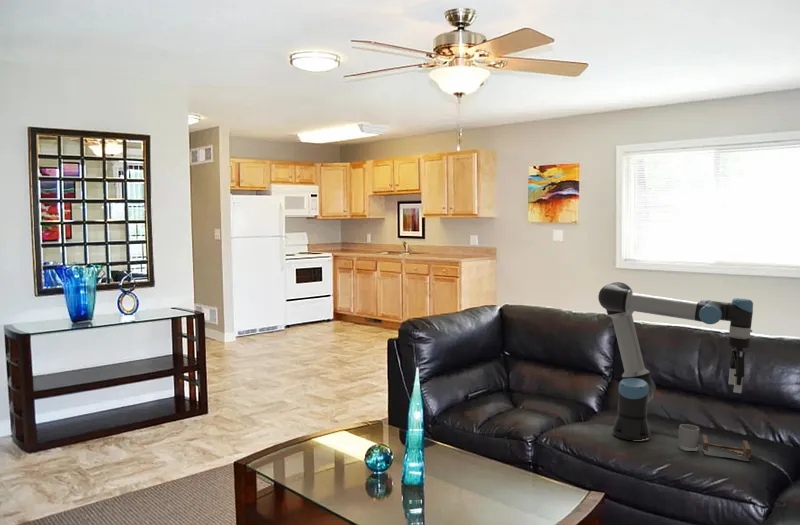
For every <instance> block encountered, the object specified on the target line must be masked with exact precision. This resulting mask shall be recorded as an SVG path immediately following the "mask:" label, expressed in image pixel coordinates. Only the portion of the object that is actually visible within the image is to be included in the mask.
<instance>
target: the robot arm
mask: <svg viewBox="0 0 800 525" xmlns="http://www.w3.org/2000/svg"><path fill="white" fill-rule="evenodd" d="M597 298H598V303H599V305H601V307H602V308H604V309H605V311H606V313H607V314H606V315H607V316H608V317H609V318H611V320H612V324H613V328H614V333H615V336H616V339H617V344H618V349H619V352H620V357H621V361H622V367H623V370H624V371H623V373H622V374H621V378H622V379H621V380H620V381H619V383H618V384H619V385H618V388H617V389H618V395H617V396H618V397H617V398H618V399H617V416H616V417H615V421H614V423H613V426H612V430H611V434H612V435H613V436H614V435H615V436H616V437H615V436H614V437H615V438H617V437H619V438H618V439H620V438H622V439H621V440H623V439H627V440H642V439H646V438H649V437H650V438H651V430H650V426H649V424H648V404H649V403H650V402H651V401H652V400H653V399H654V397H655V395H656V390H657V389H656V384H655V382H654V380H653V379H652V377H651V373H650V370H648V369H647V368H646V366H645V363H644V359H643V354H642V350H641V346H640V343H639V338H638V334H637V331H636V330H637V329H636V326H635V320H634V317H633V313H634V312H636V313H637V312H638V313H642V314H643V313H644V314H649V315H650V314H651V315H656V316H664V317H669V318H677V319H681V320H682V319H683V320H688V321H689V320H690V321H695V322H698V323H699V322H701V323H704V324H706V325H715V324H717V323H719V322H720V321H724V322H725V321H726V322H730V324H729V331H728V334H729V337H728V346H730V347H732V348H731V353H730V360H729V364H728V365H729V371H728V372H729V375H728V385H733V393H735V394H736V393H738V394H742V390H743V380H744V378H745V351H744V349H748V348H750V344H751V339H750V337H751V333H753V330H752V323H753V322H752V321H753V313H754V310H753V309H754V302H753V300H751V299H747V298H738V297H737V298H733V299H732V300H731V302H724V301H717V300H709V299H708V300H707V299H706V300H704V299H702V300H700V301H699V302H698V301H691V300H685V299H678V298H671V297H666V296H665V297H664V296H657V295H650V294H643V293H636V292H634V291H633V289H632V288H631V286H629V285H628V284H626V283H624V282H620V281H619V282H618V281H617V282H612V283H609V284H606V285H604V286H603V287H602V288H600V290H599V292H598V295H597ZM627 440H626V441H627Z"/></svg>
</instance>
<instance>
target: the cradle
mask: <svg viewBox="0 0 800 525" xmlns="http://www.w3.org/2000/svg"><path fill="white" fill-rule="evenodd" d="M702 445H703V449H704V450H706V451H708V445H709V446H714V447H719V448H722V449H726V450H729V451H734V452H737V453H741V454H744V455H745V456H742V455H737V456H742V457H746V458H750V459H751V455H752V454H751V451H752V448H751V447H750V446H751V445H750V444H749V442H748V440H744V439H743V440H742V447H737V446H730V445H729V446H728V445H721V444H714V443H710V442H709V440H708V436H707V435H706V434H702V438H701V446H702Z"/></svg>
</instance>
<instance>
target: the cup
mask: <svg viewBox="0 0 800 525" xmlns="http://www.w3.org/2000/svg"><path fill="white" fill-rule="evenodd" d="M677 438H678V445H679V444H680V445H681V446H684V447H688V448H696V447H698V448H699V442H700V441H699V439H700V428H699V426H696V425H694V424H688V423H687V424H683V423H682V424H679V427H678V431H677Z"/></svg>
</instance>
